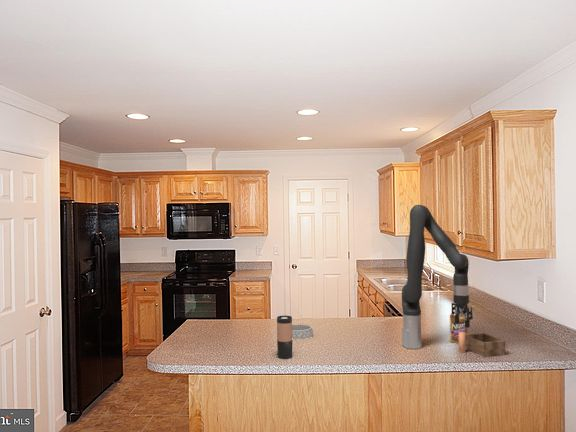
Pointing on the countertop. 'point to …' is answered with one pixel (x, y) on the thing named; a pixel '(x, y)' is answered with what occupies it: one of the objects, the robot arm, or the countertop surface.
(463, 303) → the robot arm
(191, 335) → the countertop surface
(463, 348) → the peg
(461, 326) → the candy box
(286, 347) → the travel mug
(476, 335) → the open box
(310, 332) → the dog bowl
